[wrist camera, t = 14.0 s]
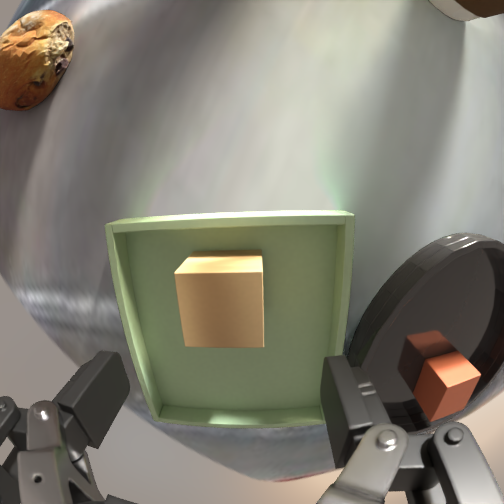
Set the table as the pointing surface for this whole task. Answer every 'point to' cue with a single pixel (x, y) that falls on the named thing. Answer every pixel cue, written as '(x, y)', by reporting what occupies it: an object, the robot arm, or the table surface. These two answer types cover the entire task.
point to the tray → (275, 315)
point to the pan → (433, 322)
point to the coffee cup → (469, 8)
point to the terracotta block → (445, 385)
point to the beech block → (221, 299)
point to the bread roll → (33, 58)
